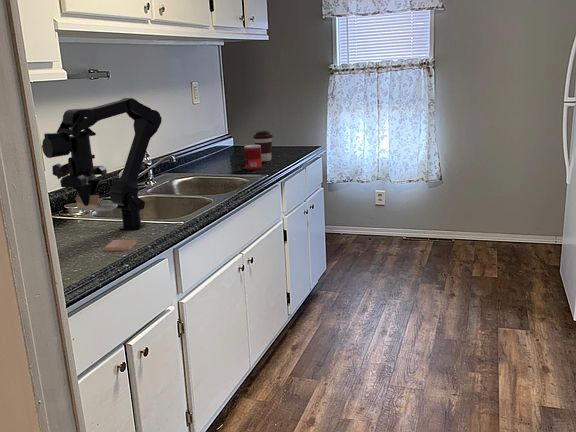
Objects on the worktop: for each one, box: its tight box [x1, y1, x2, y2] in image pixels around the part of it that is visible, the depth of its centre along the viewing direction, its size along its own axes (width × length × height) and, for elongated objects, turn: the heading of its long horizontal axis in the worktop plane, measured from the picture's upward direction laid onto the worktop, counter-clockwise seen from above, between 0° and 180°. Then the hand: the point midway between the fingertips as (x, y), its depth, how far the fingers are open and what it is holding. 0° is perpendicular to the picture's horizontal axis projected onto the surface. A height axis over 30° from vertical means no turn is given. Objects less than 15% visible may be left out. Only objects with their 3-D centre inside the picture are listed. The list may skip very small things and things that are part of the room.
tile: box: [104, 239, 138, 252], centre depth 169 cm, size 7×2×7 cm
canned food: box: [243, 144, 263, 171], centre depth 283 cm, size 8×8×11 cm
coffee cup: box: [252, 130, 273, 163], centre depth 303 cm, size 10×10×15 cm
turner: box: [75, 194, 118, 212], centre depth 175 cm, size 5×11×4 cm, turn 84°
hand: (88, 204), depth 175 cm, fingers closed on turner, 3 cm apart
